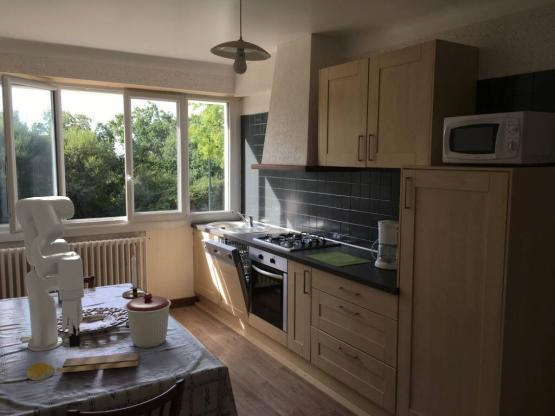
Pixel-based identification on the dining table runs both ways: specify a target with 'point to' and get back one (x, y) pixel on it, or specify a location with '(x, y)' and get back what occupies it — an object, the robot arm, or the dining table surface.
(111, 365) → the oak plank right
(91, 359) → the walnut floor strip
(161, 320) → the canister
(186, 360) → the dining table surface
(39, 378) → the bread roll
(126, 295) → the candlestick
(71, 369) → the oak plank left
